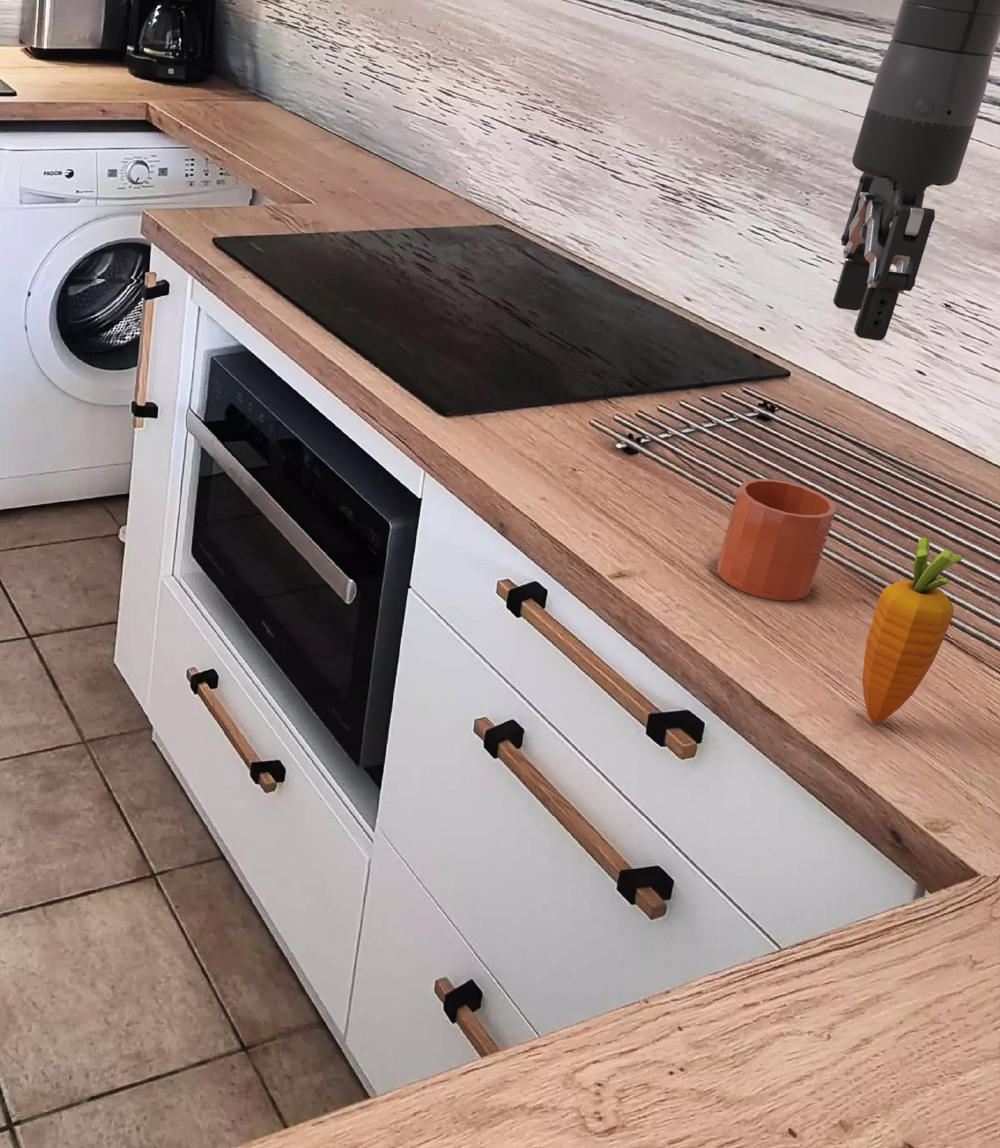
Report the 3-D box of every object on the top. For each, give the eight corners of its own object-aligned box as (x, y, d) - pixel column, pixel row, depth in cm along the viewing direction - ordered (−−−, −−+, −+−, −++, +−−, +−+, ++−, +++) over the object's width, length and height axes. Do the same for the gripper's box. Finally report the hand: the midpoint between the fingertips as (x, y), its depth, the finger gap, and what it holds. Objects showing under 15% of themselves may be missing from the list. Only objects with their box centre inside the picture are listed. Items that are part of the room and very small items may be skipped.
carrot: (843, 698, 116) (904, 521, 109) (911, 719, 114) (977, 541, 107) (836, 726, 111) (899, 545, 105) (906, 748, 110) (974, 565, 103)
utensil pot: (801, 568, 137) (826, 488, 133) (816, 607, 130) (843, 523, 126) (712, 553, 138) (734, 473, 134) (722, 591, 130) (746, 507, 127)
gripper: (1001, 134, 104) (927, 357, 111) (949, 104, 117) (886, 306, 124) (890, 118, 105) (824, 341, 112) (851, 90, 118) (793, 292, 125)
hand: (856, 322), depth 118 cm, fingers open, 8 cm apart
